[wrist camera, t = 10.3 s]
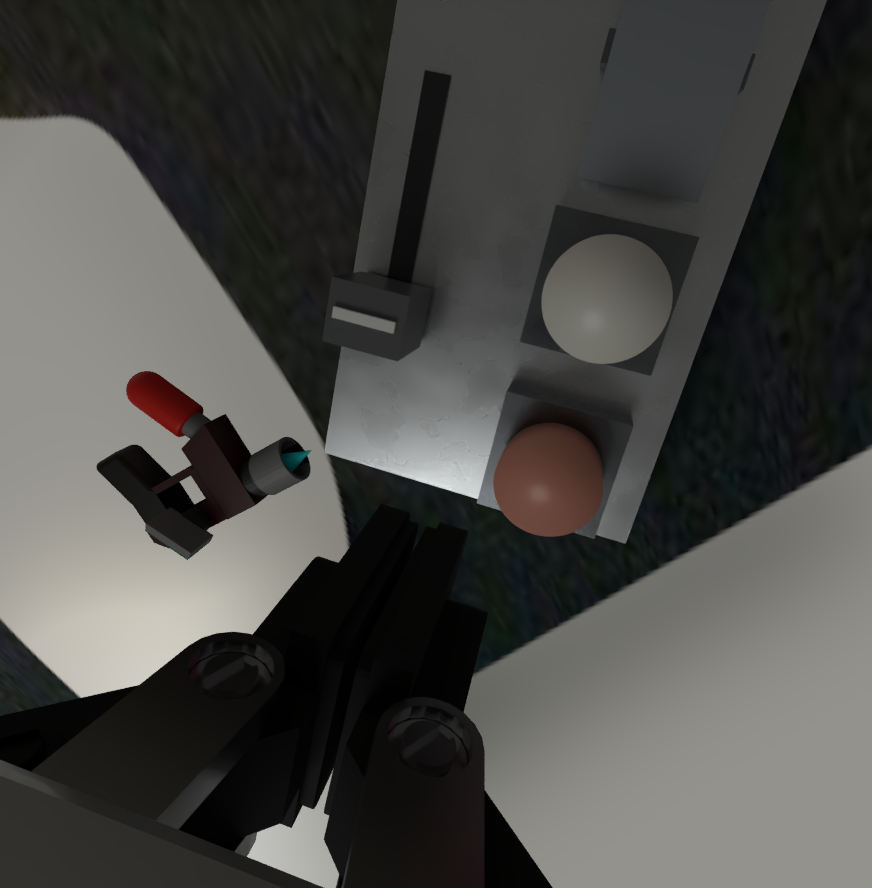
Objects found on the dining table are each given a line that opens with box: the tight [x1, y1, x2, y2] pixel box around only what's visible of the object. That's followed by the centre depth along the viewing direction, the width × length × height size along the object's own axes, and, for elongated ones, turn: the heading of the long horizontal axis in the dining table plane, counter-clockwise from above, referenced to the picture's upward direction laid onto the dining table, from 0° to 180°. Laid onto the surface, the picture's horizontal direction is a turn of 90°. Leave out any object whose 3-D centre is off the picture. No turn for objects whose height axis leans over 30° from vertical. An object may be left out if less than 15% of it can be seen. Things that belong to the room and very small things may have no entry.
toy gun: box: [97, 371, 310, 560], centre depth 34 cm, size 10×12×5 cm
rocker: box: [577, 0, 772, 204], centre depth 19 cm, size 4×8×1 cm, turn 168°
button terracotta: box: [493, 423, 603, 536], centre depth 25 cm, size 4×4×3 cm
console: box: [325, 0, 827, 544], centre depth 26 cm, size 14×22×6 cm, turn 167°
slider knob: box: [322, 271, 432, 362], centre depth 25 cm, size 3×2×3 cm
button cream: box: [541, 234, 673, 364], centre depth 22 cm, size 4×4×3 cm
